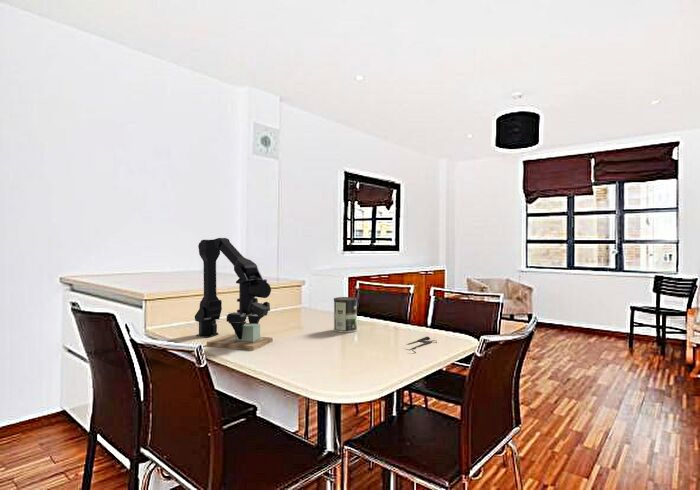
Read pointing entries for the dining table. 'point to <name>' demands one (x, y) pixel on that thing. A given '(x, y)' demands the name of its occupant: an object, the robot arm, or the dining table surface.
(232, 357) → the dining table surface
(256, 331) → the block
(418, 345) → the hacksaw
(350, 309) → the coffee can
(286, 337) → the dining table surface
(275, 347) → the dining table surface
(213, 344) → the oak board
